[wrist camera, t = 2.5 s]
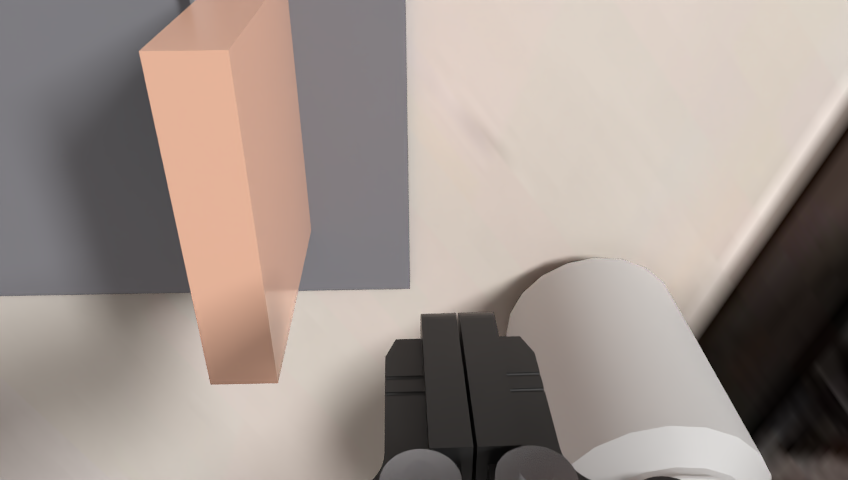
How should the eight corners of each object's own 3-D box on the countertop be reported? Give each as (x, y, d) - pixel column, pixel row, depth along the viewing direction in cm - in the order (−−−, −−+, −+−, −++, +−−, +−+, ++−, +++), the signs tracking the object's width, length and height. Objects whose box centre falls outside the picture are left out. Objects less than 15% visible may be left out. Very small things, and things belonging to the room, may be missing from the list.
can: (471, 338, 32) (504, 581, 22) (572, 217, 29) (664, 435, 19) (597, 398, 35) (680, 645, 24) (703, 292, 31) (850, 524, 21)
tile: (285, -27, 23) (228, 50, 16) (311, 230, 29) (278, 383, 21) (220, -27, 23) (132, 50, 16) (258, 231, 29) (205, 384, 21)
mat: (403, -130, 22) (403, -127, 21) (409, 283, 31) (410, 299, 30) (-238, -127, 22) (-269, -124, 21) (-54, 291, 30) (-70, 308, 29)
